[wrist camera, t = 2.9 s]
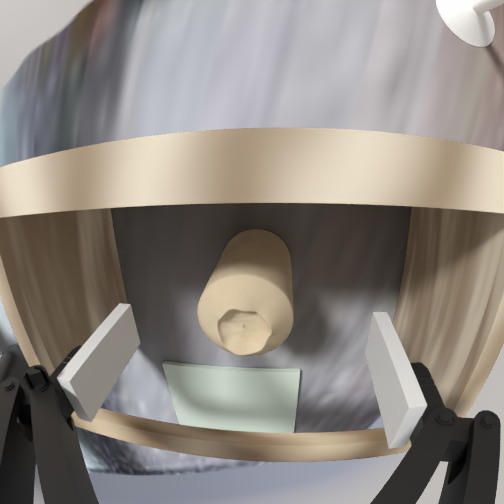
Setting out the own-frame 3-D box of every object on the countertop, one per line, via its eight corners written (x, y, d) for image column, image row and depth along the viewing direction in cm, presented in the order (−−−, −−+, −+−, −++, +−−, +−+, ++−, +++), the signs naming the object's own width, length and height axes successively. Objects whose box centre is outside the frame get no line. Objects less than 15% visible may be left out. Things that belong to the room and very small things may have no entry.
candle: (216, 234, 25) (177, 294, 15) (285, 222, 24) (285, 279, 15) (231, 294, 27) (206, 374, 17) (295, 285, 26) (300, 366, 16)
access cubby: (122, 330, 29) (59, 420, 17) (90, 150, 23) (-28, 176, 11) (402, 337, 27) (449, 442, 15) (431, 143, 20) (545, 163, 8)
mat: (181, 423, 34) (180, 426, 34) (163, 360, 30) (162, 363, 30) (293, 431, 33) (293, 435, 32) (299, 368, 29) (300, 372, 28)
